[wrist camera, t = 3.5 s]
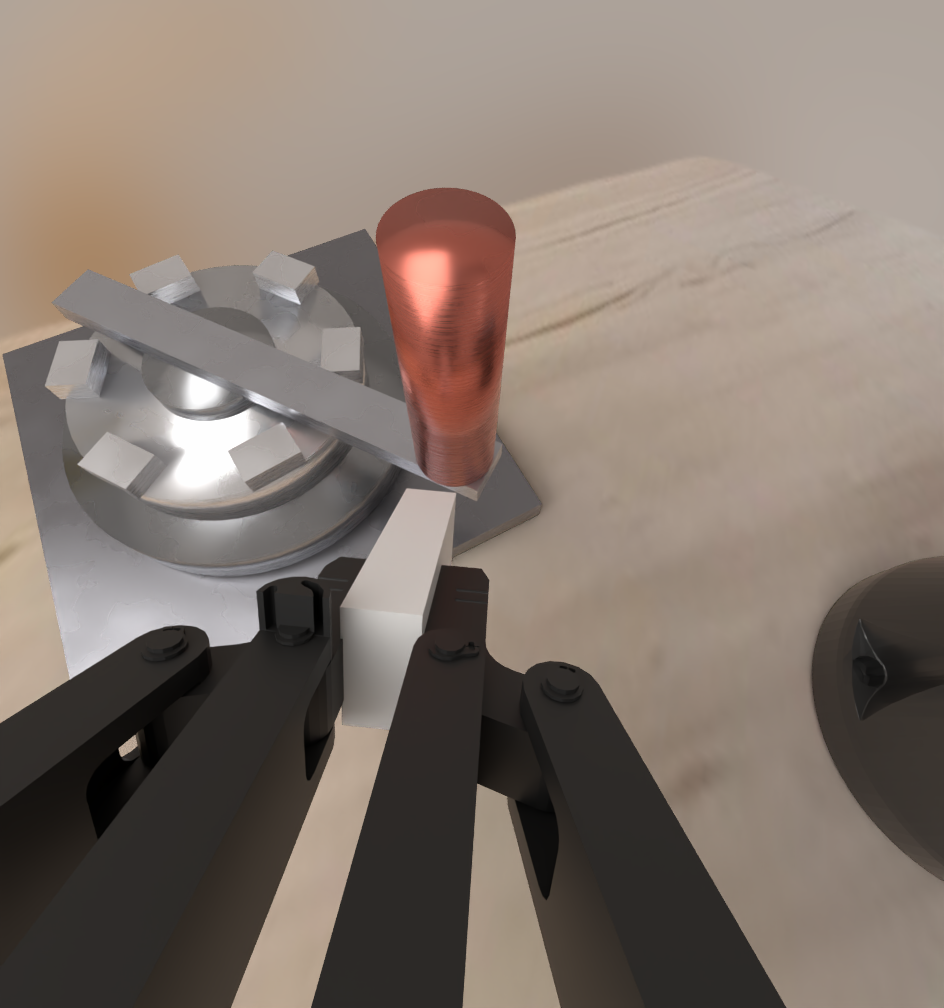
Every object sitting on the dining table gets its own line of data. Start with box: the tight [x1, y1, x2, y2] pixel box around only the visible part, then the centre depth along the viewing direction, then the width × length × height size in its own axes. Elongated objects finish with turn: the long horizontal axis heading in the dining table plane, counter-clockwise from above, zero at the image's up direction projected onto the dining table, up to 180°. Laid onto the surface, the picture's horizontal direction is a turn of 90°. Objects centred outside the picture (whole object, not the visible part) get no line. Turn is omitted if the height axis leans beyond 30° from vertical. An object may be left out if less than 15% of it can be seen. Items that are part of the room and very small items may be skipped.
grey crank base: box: [3, 229, 542, 679], centre depth 29 cm, size 24×24×4 cm
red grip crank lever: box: [45, 188, 516, 521], centre depth 20 cm, size 22×14×14 cm, turn 64°
